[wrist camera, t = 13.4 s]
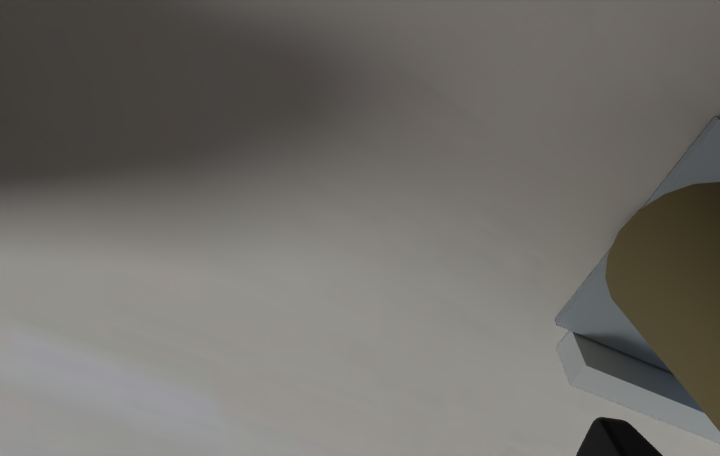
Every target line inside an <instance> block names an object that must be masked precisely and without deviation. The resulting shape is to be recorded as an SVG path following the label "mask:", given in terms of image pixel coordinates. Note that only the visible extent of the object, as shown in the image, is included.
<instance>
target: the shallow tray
mask: <svg viewBox="0 0 720 456" xmlns="http://www.w3.org/2000/svg"><path fill="white" fill-rule="evenodd" d="M712 182H720V119H719V118H717V117H715V116H714V118H713V119H712V120H711V121H710V123H709V124H708V125H707V127H706V128H705V129H704V130H703V132H702V133H701V134H700V135H699V137H698V138H697V139H696V140H695V142H694V143H693V144H692V146H691V147H690V148H689V149H688V151H687V152H686V153H685V154H684V156H683V157H682V158H681V160H680V161H679V162H678V163H677V165H676V166H675V167H674V168H673V170H672V171H671V172H670V174H669V175H668V176H667V177H666V179H665V180H664V181H663V182H662V184H661V185H660V186H659V188H658V189H657V190H656V191H655V193H654V194H653V195H652V196H651V198H650V199H649V200H648V202H647V203H646V204H645V205H644V207H645V206H647V205H648V204H650V203H651V202H653V201H654V200H656V199H658V198H659V197H661V196H662V195H664V194H666V193H669V192H672V191H675V190H678V189H681V188H684V187H686V186H689V185H692V184H699V183H712ZM644 207H643V208H644ZM609 251H610V250H609ZM609 251H608V252H607V254H606V255H605V256H604V258H603V259H602V260H601V261H600V263H599V264H598V265H597V266H596V268H595V269H594V270H593V272H592V273H591V274H590V275H589V277H588V278H587V279H586V280H585V282H584V283H583V284H582V286H581V287H580V288H579V289H578V291H577V292H576V293H575V294H574V296H573V297H572V298H571V300H570V301H569V302H568V303H567V305H566V306H565V307H564V308H563V310H562V311H561V312H560V314H559V315H558V316H557V317H556V319H555V322H556V325H558V326H560V327H563V328H565V329H568V330H570V331H569V332H568V334H567V335H566V336H565V337H564V339H563V340H562V341H561V342H560V344H559V345H558V346H557V347H556V349H557V352H558V355H559V357H560V360H561V363H562V365H563V368H564V371H565V374H566V376H567V379H568V382H569V384H570V385H571V386H573V387H576V388H579V389H581V390H584V391H586V392H589V393H591V394H594V395H596V396H599V397H602V398H604V399H607V400H609V401H612V402H614V403H617V404H619V405H622V406H625V407H627V408H630V409H632V410H635V411H637V412H640V413H642V414H645V415H648V416H650V417H653V418H655V419H658V420H660V421H663V422H665V423H668V424H671V425H673V426H676V427H678V428H681V429H683V430H686V431H688V432H691V433H694V434H696V435H699V436H701V437H704V438H706V439H709V440H711V441H714V442H716V443H719V444H720V432H719V430H718V429H717V428H716V427H715V425H714V424H713V423H712V422H711V420H710V419H709V418H708V417H707V416H706V414H705V413H704V412H703V411H702V409H701V408H700V407H699V406H698V404H697V403H696V402H695V401H694V399H693V398H692V397H691V396H690V395H689V393H688V392H687V391H686V390H685V388H684V387H683V386H682V385H681V383H680V382H679V381H678V380H677V379H676V377H675V376H674V375H673V374H672V372H671V371H670V370H669V369H668V367H667V366H666V365H665V364H664V363H663V361H662V360H661V359H660V358H659V356H658V355H657V354H656V353H655V351H654V350H653V349H652V348H651V346H650V345H649V344H648V343H647V342H646V340H645V339H644V338H643V337H642V335H641V334H640V333H639V332H638V330H637V329H636V328H635V327H634V326H633V324H632V323H631V322H630V321H629V319H628V318H627V317H626V316H625V314H624V313H623V312H622V311H621V310H620V308H619V307H618V306H617V305H616V303H615V302H614V301H613V300H612V298H611V296H610V292H609V289H608V286H607V282H606V279H605V275H606V266H607V257H608V253H609Z"/></svg>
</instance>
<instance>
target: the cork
mask: <svg viewBox="0 0 720 456" xmlns="http://www.w3.org/2000/svg"><path fill="white" fill-rule="evenodd" d="M605 279H606V282H607V286H608V289H609V292H610V296H611V298H612V300H613V301H614V302H615V303H616V305H617V306H618V307H619V308H620V310H621V311H622V312H623V313H624V314H625V316H626V317H627V318H628V319H629V321H630V322H631V323H632V324H633V326H634V327H635V328H636V329H637V330H638V332H639V333H640V334H641V335H642V337H643V338H644V339H645V340H646V342H647V343H648V344H649V345H650V346H651V348H652V349H653V350H654V351H655V353H656V354H657V355H658V356H659V358H660V359H661V360H662V361H663V363H664V364H665V365H666V366H667V367H668V369H669V370H670V371H671V372H672V374H673V375H674V376H675V377H676V379H677V380H678V381H679V382H680V383H681V385H682V386H683V387H684V388H685V390H686V391H687V392H688V393H689V395H690V396H691V397H692V398H693V399H694V401H695V402H696V403H697V404H698V406H699V407H700V408H701V409H702V411H703V412H704V413H705V414H706V416H707V417H708V418H709V419H710V420H711V422H712V423H713V424H714V425H715V427H716V428H717V429H718V430H719V432H720V182H712V183H699V184H692V185H689V186H686V187H684V188H681V189H678V190H675V191H672V192H669V193H666V194H664V195H662V196H661V197H659V198H658V199H656V200H654V201H653V202H651V203H650V204H648V205H647V206H645V207H644V208H642V209H640V210H639V211H638V212H637V213H636V214H635V215H634V216H633V217H632V218H631V219H630V221H629V222H628V223H627V224H626V225H625V226H624V227H623V228H622V229H621V230H620V231H619V233H618V235H617V237H616V239H615V241H614V243H613V245H612V247H611V249H610V251H609V253H608V257H607V266H606V275H605Z"/></svg>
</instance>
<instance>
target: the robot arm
mask: <svg viewBox="0 0 720 456" xmlns="http://www.w3.org/2000/svg"><path fill="white" fill-rule="evenodd" d="M576 456H663V455H662V454H661V453H659V452H658V451H657V450H656V449H655V448H654V447H653V446H652V445H651V444H650V443H649V442H648V441H647V440H646V439H645V438H644V437H643V436H642V435H641V434H640V433H639V432H638V431H637V430H636V429H635V428H634V427H633V426H632V425H630V424H629V423H628V422H626V421H624V420H619V419H612V418H605V417H599V418H597V419H596V420H594V421H593V423H592V425H591V427H590V429H589V431H588V433H587V435H586V437H585V439H584V440H583V442H582V444H581V446H580V448H579V450H578V452H577V455H576Z"/></svg>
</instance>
